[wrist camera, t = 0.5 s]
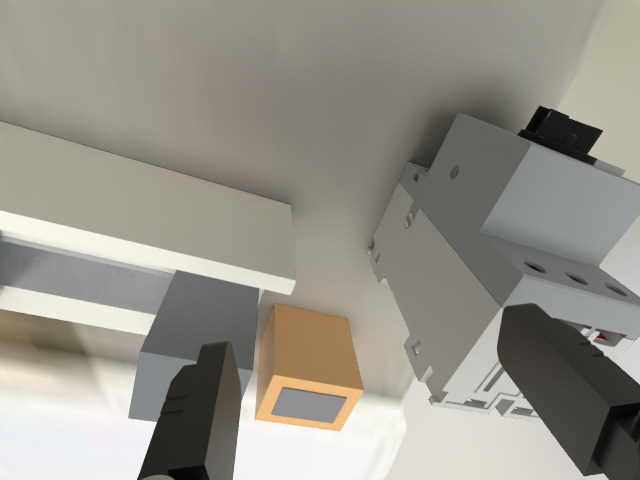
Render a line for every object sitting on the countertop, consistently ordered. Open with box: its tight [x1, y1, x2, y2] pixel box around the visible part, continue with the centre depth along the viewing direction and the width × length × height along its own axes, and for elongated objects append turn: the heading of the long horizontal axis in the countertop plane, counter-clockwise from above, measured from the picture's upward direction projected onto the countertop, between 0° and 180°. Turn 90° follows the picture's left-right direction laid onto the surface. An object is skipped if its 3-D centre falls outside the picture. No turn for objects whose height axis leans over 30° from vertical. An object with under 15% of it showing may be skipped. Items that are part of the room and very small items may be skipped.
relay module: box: [255, 303, 364, 431], centre depth 31 cm, size 5×7×8 cm
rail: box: [0, 235, 174, 315], centre depth 28 cm, size 4×27×1 cm, turn 70°
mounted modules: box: [128, 270, 260, 422], centre depth 24 cm, size 6×25×8 cm, turn 70°
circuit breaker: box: [366, 106, 640, 423], centre depth 22 cm, size 8×14×15 cm, turn 161°
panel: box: [0, 121, 296, 335], centre depth 24 cm, size 15×28×10 cm, turn 70°
